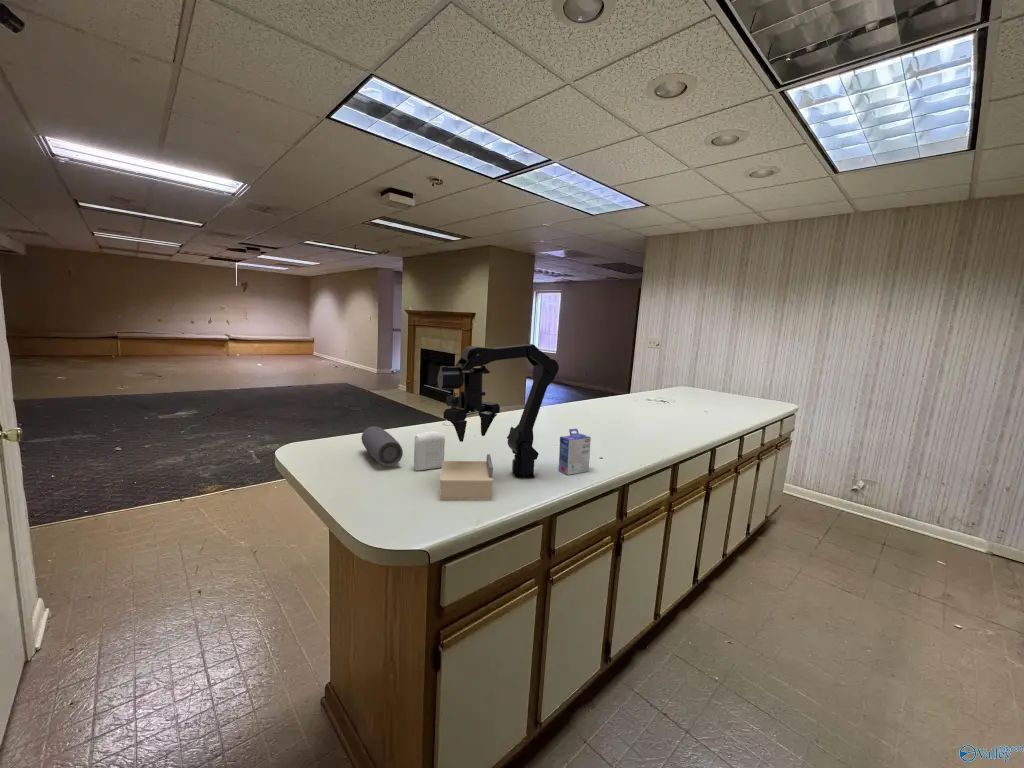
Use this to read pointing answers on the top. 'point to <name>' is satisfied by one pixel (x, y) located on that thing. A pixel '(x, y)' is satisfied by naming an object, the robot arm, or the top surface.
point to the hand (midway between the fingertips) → (472, 438)
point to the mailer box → (465, 491)
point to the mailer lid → (467, 471)
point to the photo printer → (429, 450)
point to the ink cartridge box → (574, 453)
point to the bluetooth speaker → (382, 446)
